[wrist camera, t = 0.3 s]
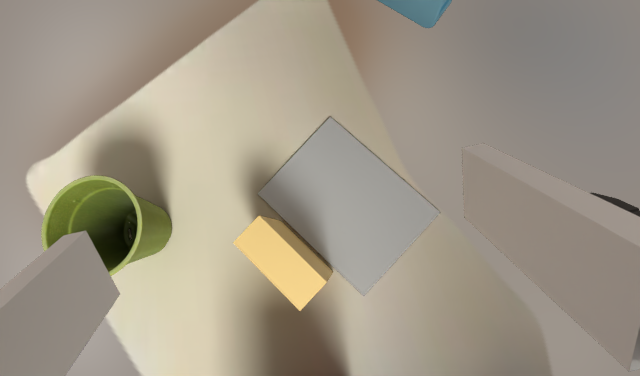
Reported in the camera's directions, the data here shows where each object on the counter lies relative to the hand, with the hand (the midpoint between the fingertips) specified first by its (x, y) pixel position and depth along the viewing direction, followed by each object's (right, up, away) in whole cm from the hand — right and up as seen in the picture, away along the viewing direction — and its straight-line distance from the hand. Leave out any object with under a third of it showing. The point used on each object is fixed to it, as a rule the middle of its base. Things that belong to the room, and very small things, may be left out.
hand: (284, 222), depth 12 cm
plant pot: (-23, -5, +37) cm, 44 cm away
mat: (+5, -1, +35) cm, 35 cm away
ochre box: (-2, -8, +34) cm, 35 cm away
